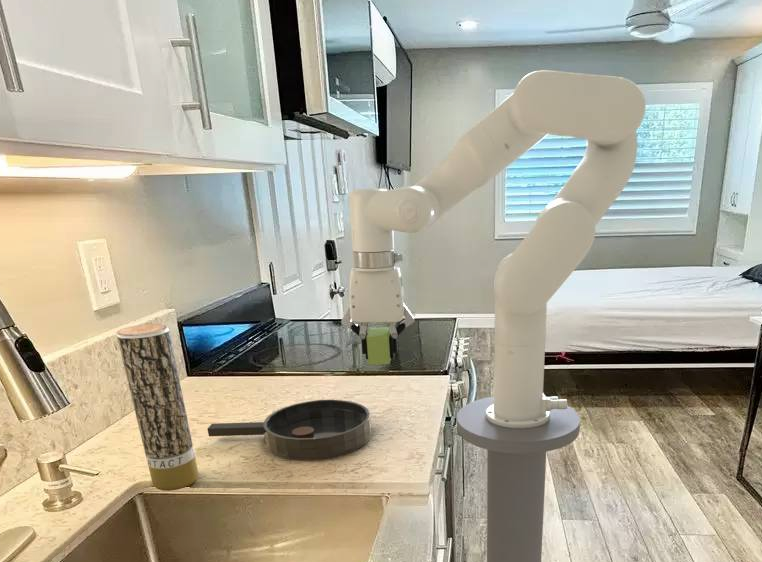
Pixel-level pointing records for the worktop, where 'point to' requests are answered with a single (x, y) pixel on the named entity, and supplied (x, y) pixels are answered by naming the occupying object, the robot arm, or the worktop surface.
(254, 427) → the pan handle
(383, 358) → the sponge
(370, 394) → the worktop surface
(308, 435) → the brown disc
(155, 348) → the paper tube
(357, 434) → the pan
